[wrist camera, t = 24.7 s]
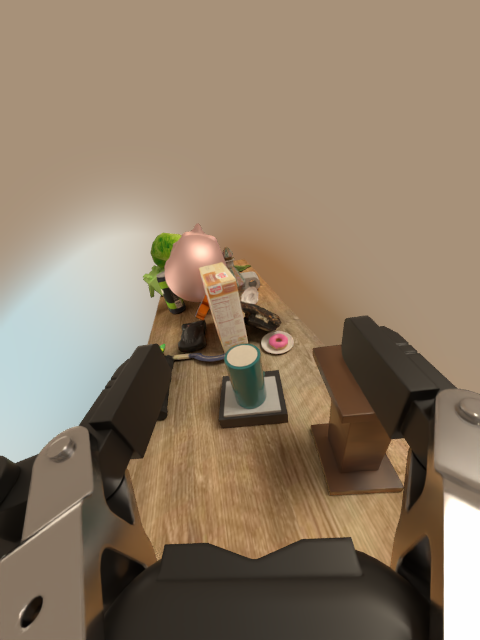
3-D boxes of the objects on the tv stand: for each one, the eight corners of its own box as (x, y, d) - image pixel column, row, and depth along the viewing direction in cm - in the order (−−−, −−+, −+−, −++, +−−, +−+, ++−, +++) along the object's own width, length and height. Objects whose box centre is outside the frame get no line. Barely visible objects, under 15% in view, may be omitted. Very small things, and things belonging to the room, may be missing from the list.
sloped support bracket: (214, 277, 88) (213, 284, 81) (257, 270, 87) (259, 277, 80) (217, 289, 90) (216, 297, 84) (258, 283, 90) (260, 290, 83)
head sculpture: (218, 234, 87) (240, 219, 60) (213, 296, 93) (231, 308, 65) (167, 225, 81) (165, 203, 53) (164, 292, 86) (161, 303, 58)
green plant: (158, 276, 86) (176, 294, 93) (167, 256, 95) (183, 274, 102) (133, 288, 92) (152, 304, 99) (144, 268, 101) (161, 284, 108)
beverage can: (187, 305, 83) (174, 269, 75) (184, 312, 78) (170, 275, 70) (172, 307, 84) (158, 272, 76) (168, 315, 78) (153, 278, 70)
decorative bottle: (224, 289, 87) (228, 241, 74) (247, 296, 85) (256, 249, 72) (213, 300, 80) (216, 250, 67) (238, 309, 78) (246, 259, 65)
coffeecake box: (214, 326, 67) (197, 267, 56) (235, 319, 68) (223, 261, 57) (224, 355, 54) (204, 286, 44) (249, 346, 55) (236, 278, 45)
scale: (279, 378, 45) (278, 367, 43) (288, 422, 37) (287, 411, 35) (225, 384, 46) (222, 374, 44) (221, 428, 38) (217, 418, 36)
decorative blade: (233, 360, 51) (235, 350, 55) (233, 357, 50) (234, 347, 55) (152, 369, 53) (160, 358, 57) (151, 366, 52) (159, 355, 57)
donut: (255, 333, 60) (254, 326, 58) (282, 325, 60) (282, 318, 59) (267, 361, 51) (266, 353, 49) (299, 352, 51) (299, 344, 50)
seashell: (266, 307, 73) (263, 284, 73) (258, 307, 69) (254, 284, 69) (248, 310, 78) (245, 289, 78) (240, 311, 74) (236, 289, 74)
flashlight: (175, 362, 55) (171, 353, 53) (170, 418, 41) (164, 408, 40) (164, 365, 55) (160, 356, 53) (155, 422, 41) (149, 413, 39)
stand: (366, 423, 34) (389, 338, 25) (402, 491, 27) (455, 405, 17) (310, 428, 35) (312, 348, 25) (330, 495, 27) (342, 416, 18)
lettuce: (203, 250, 86) (196, 228, 94) (151, 247, 78) (147, 224, 86) (198, 279, 99) (192, 258, 107) (153, 279, 91) (150, 256, 99)
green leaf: (222, 269, 115) (222, 268, 114) (248, 263, 116) (248, 261, 115) (225, 275, 105) (225, 273, 104) (253, 268, 106) (253, 266, 105)
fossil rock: (232, 315, 66) (238, 297, 65) (273, 330, 65) (280, 312, 65) (224, 319, 53) (232, 297, 52) (276, 338, 52) (284, 316, 51)
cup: (265, 380, 41) (259, 341, 36) (268, 407, 36) (262, 366, 31) (235, 383, 42) (225, 345, 36) (234, 410, 37) (222, 371, 31)
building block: (214, 297, 61) (205, 293, 60) (206, 314, 59) (197, 310, 58) (210, 304, 66) (202, 300, 66) (203, 320, 64) (194, 316, 64)
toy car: (206, 321, 70) (203, 310, 67) (206, 350, 57) (202, 338, 55) (184, 326, 70) (180, 315, 67) (180, 356, 57) (174, 344, 55)
